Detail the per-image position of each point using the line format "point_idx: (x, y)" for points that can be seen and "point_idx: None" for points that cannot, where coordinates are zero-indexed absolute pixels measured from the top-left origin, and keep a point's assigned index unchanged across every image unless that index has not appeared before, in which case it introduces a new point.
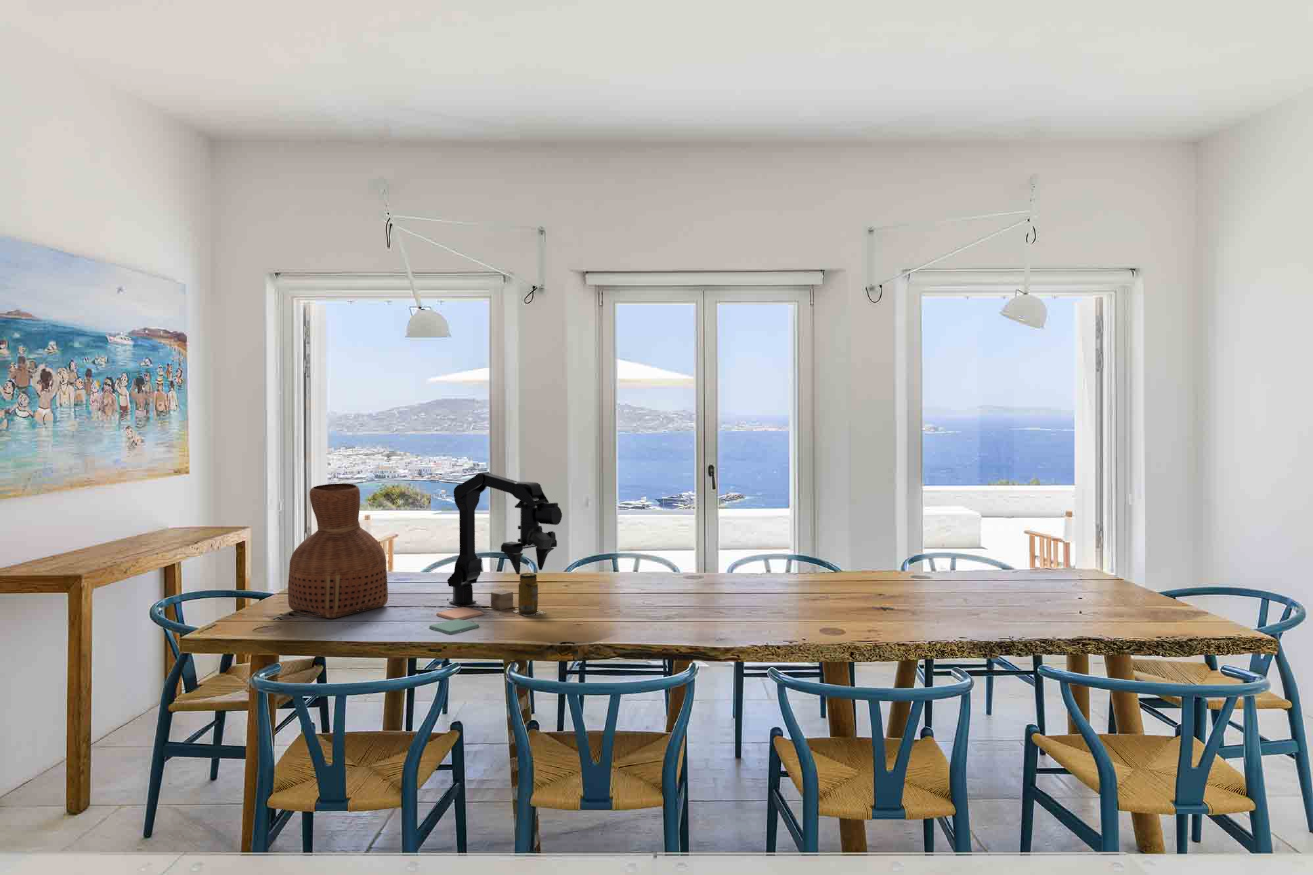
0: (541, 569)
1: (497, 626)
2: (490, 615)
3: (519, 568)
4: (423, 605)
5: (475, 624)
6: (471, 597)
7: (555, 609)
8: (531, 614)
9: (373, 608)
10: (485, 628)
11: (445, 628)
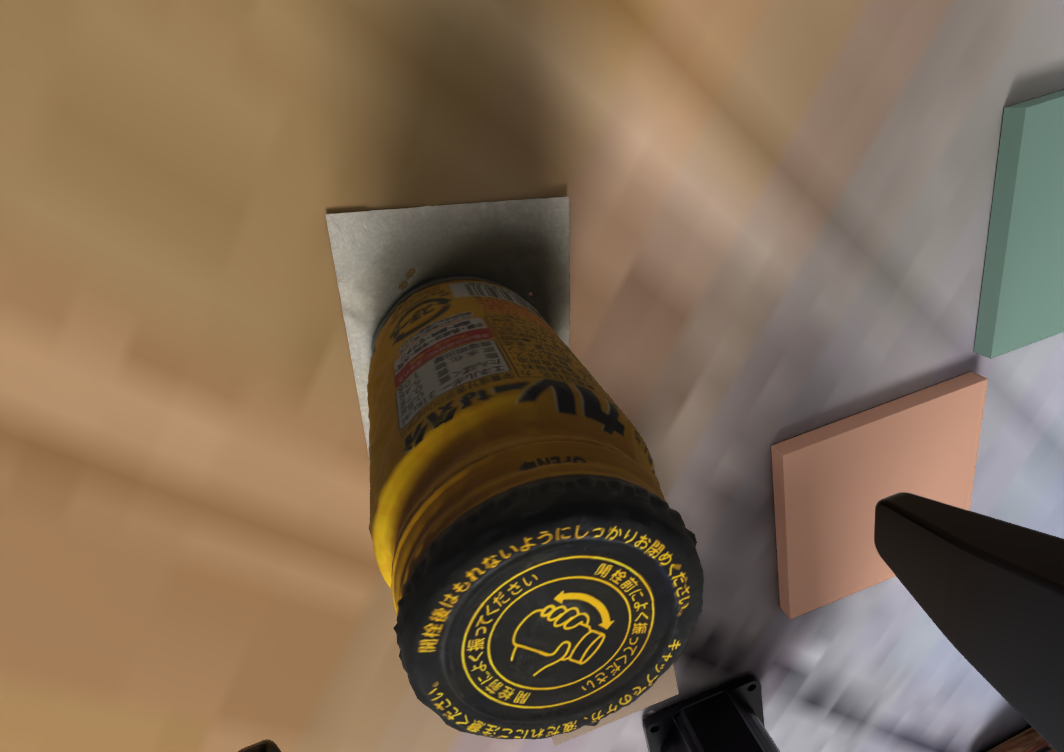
0: (251, 750)
1: (914, 25)
2: (749, 398)
3: (1037, 554)
4: (859, 737)
5: (1039, 123)
6: (706, 734)
7: (163, 311)
8: (481, 246)
9: (1025, 730)
10: (1003, 31)
11: None
